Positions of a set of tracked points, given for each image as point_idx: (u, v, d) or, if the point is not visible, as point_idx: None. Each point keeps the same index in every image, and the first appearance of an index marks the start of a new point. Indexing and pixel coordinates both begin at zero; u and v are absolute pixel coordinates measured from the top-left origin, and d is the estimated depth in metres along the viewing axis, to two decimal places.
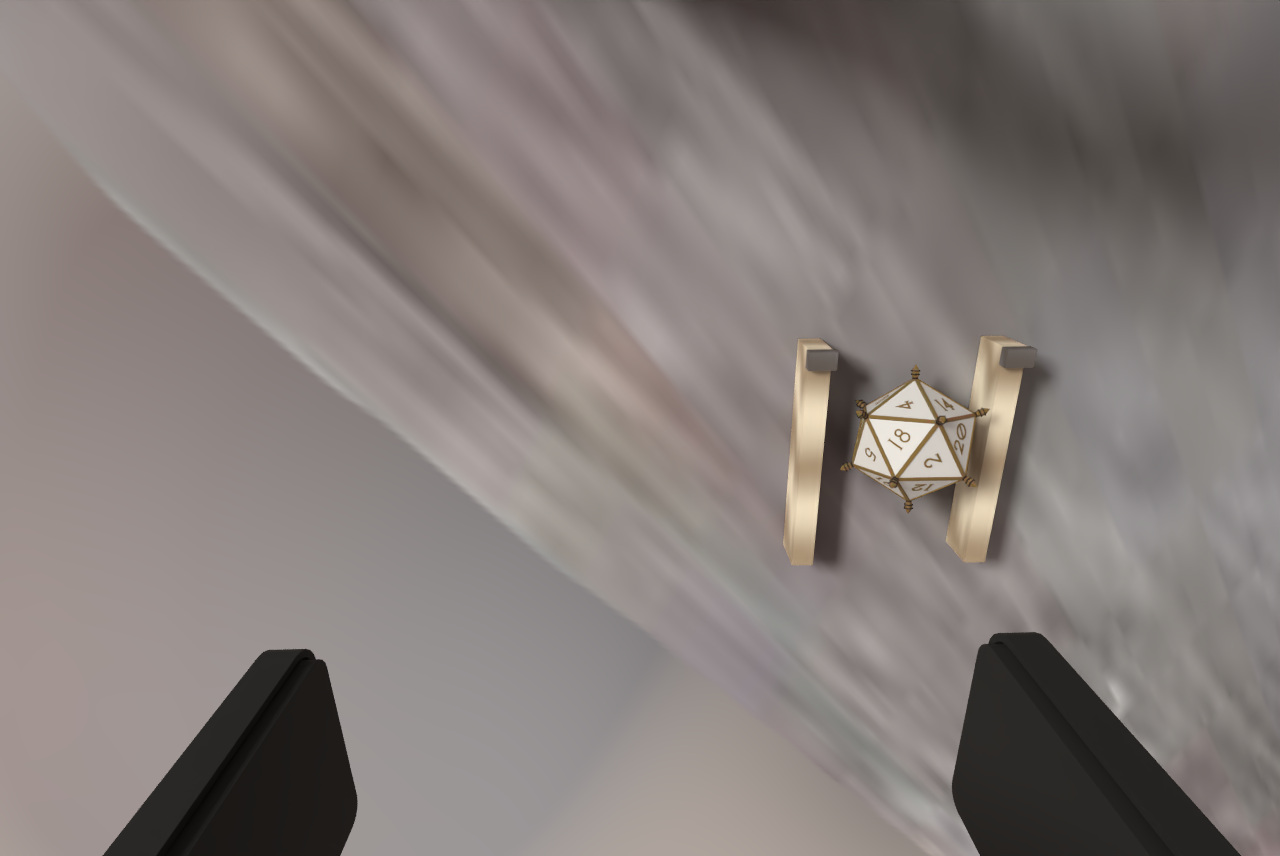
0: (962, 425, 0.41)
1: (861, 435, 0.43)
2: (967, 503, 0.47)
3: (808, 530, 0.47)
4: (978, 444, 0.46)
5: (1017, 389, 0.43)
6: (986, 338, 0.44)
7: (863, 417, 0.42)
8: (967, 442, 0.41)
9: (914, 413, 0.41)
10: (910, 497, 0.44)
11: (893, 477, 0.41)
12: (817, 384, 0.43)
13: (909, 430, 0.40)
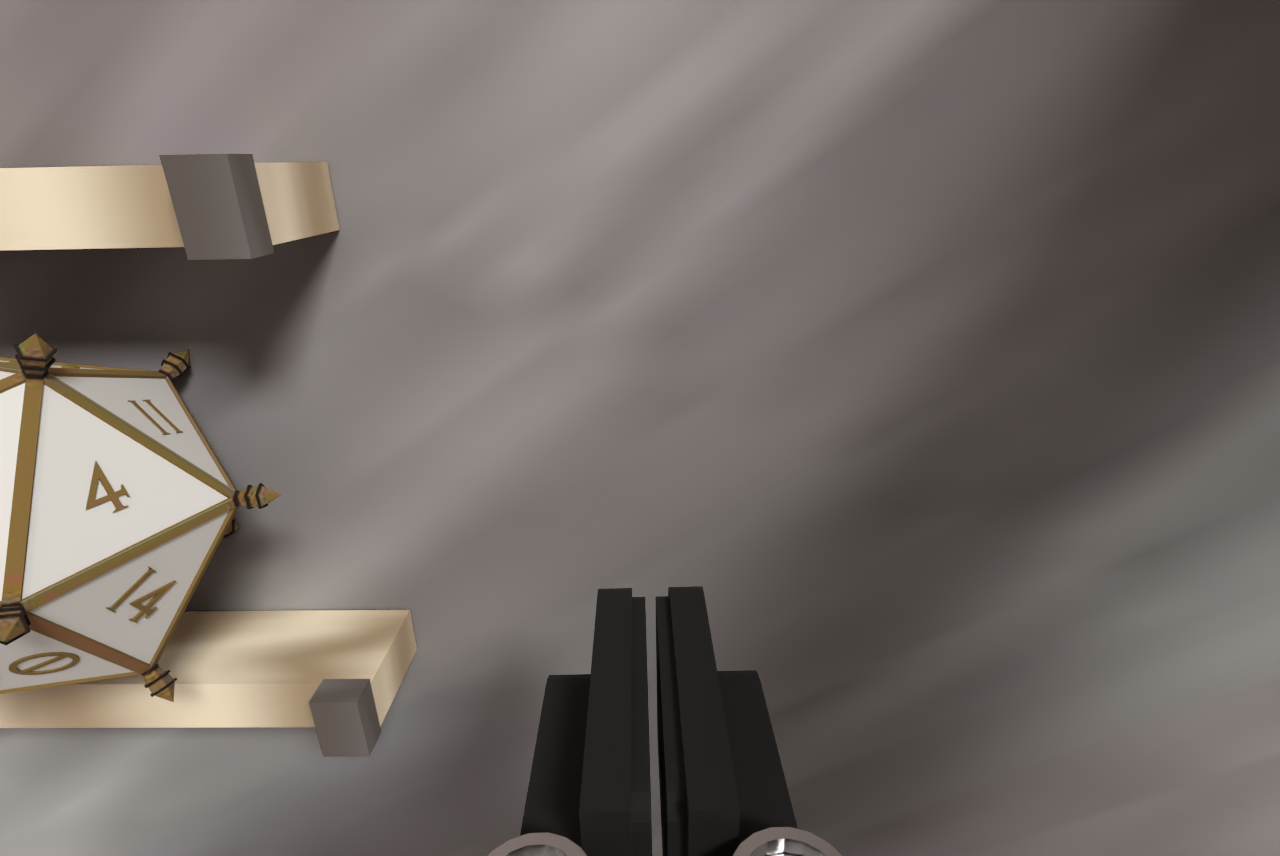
0: (74, 658, 0.13)
1: None
2: None
3: None
4: None
5: (272, 724, 0.18)
6: (401, 624, 0.19)
7: (20, 363, 0.12)
8: (20, 682, 0.13)
9: (61, 524, 0.12)
10: None
11: None
12: (143, 205, 0.13)
13: None
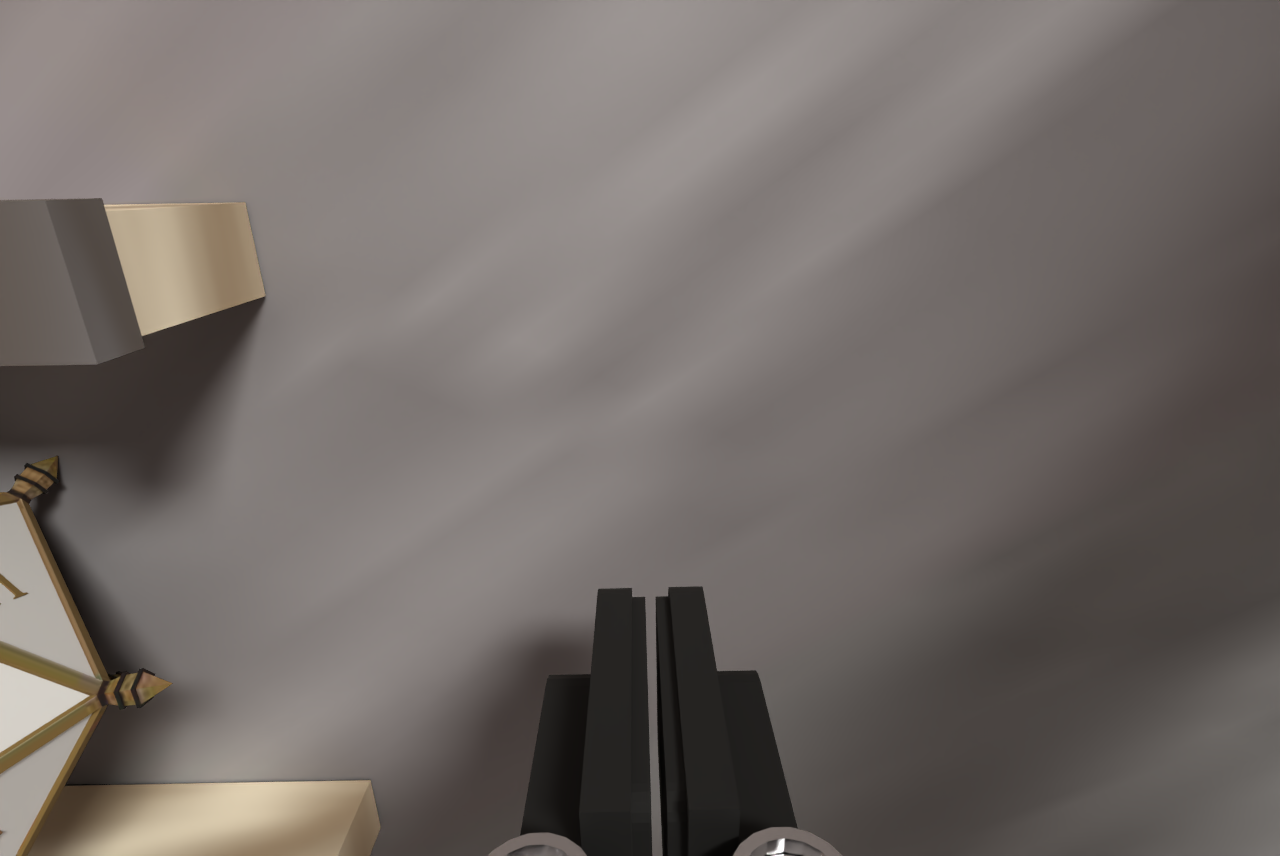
0: None
1: None
2: None
3: None
4: None
5: None
6: (359, 805, 0.15)
7: None
8: None
9: None
10: None
11: None
12: None
13: None
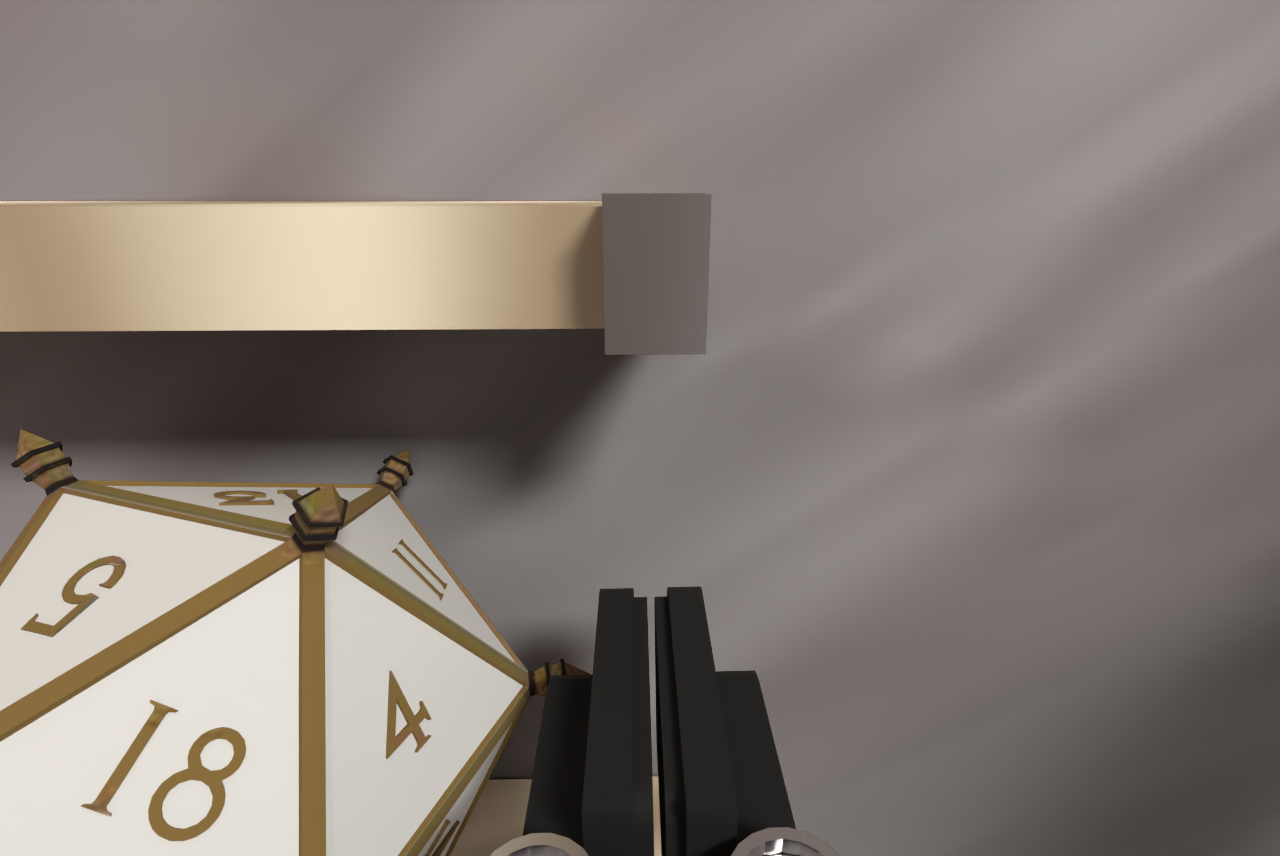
0: None
1: (203, 523, 0.08)
2: None
3: None
4: None
5: None
6: None
7: (299, 530, 0.07)
8: None
9: (362, 793, 0.07)
10: None
11: None
12: (513, 267, 0.08)
13: (243, 814, 0.07)
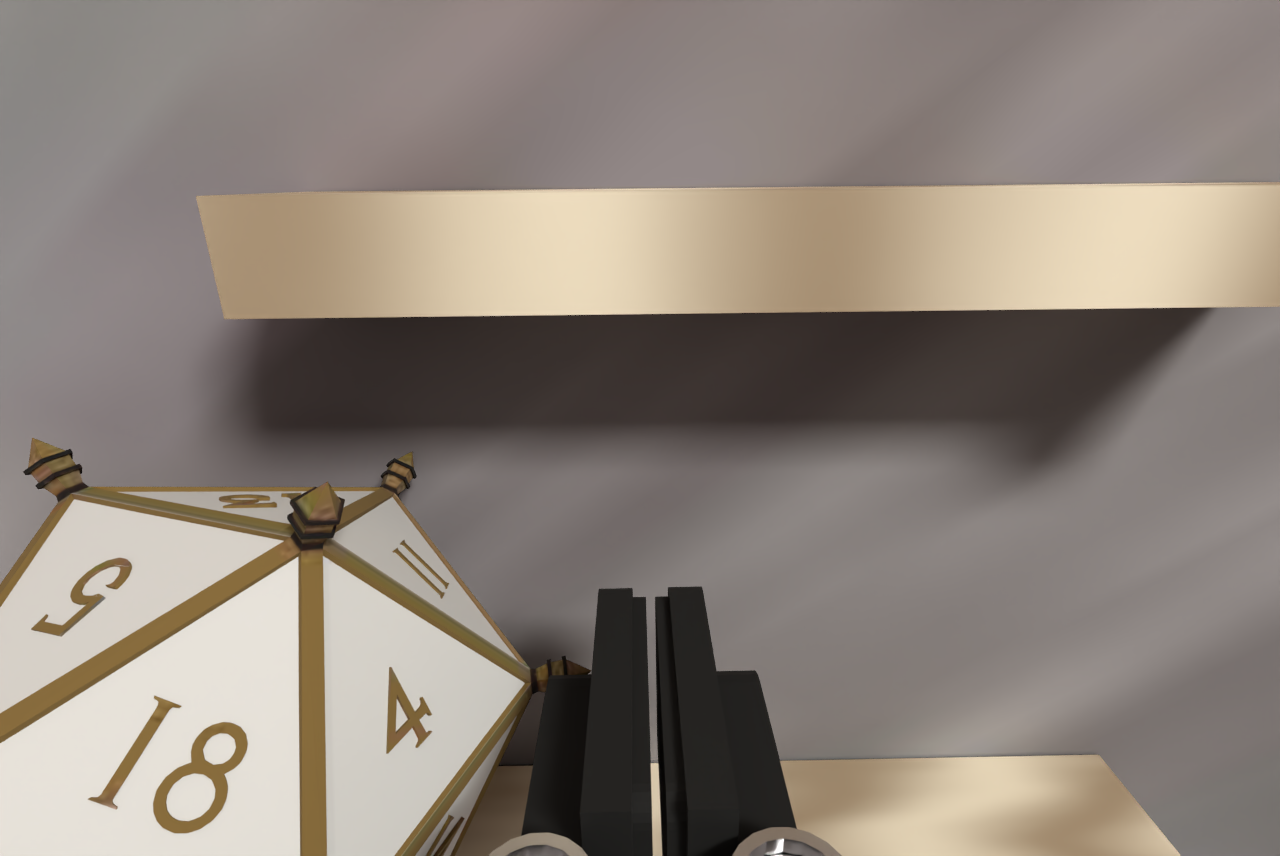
0: None
1: (206, 524, 0.08)
2: None
3: (439, 272, 0.08)
4: None
5: None
6: (1114, 778, 0.15)
7: (297, 528, 0.07)
8: None
9: (362, 787, 0.07)
10: None
11: None
12: None
13: (247, 807, 0.07)
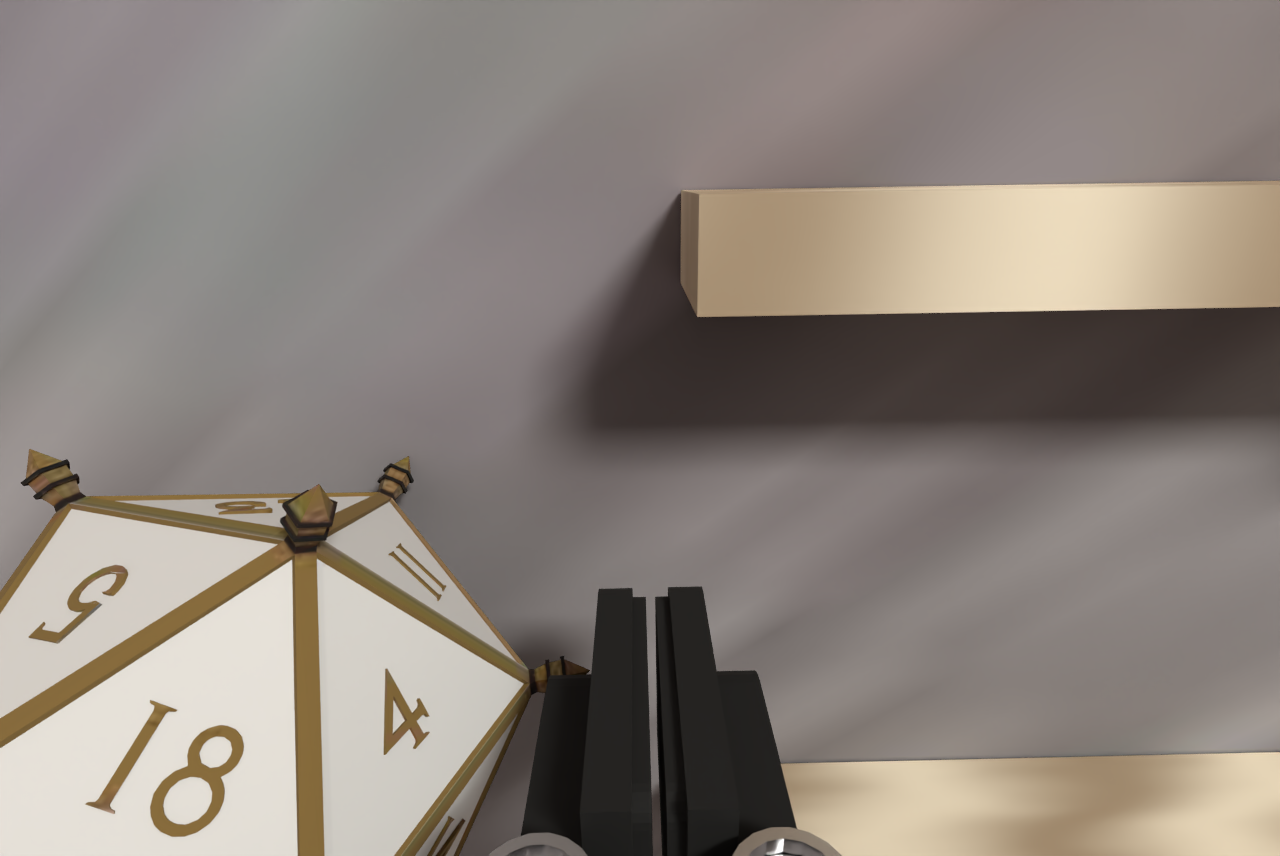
0: None
1: (201, 530, 0.08)
2: (898, 846, 0.13)
3: (921, 269, 0.08)
4: (1119, 839, 0.13)
5: None
6: None
7: (290, 531, 0.07)
8: None
9: (359, 789, 0.07)
10: None
11: None
12: None
13: (242, 810, 0.07)
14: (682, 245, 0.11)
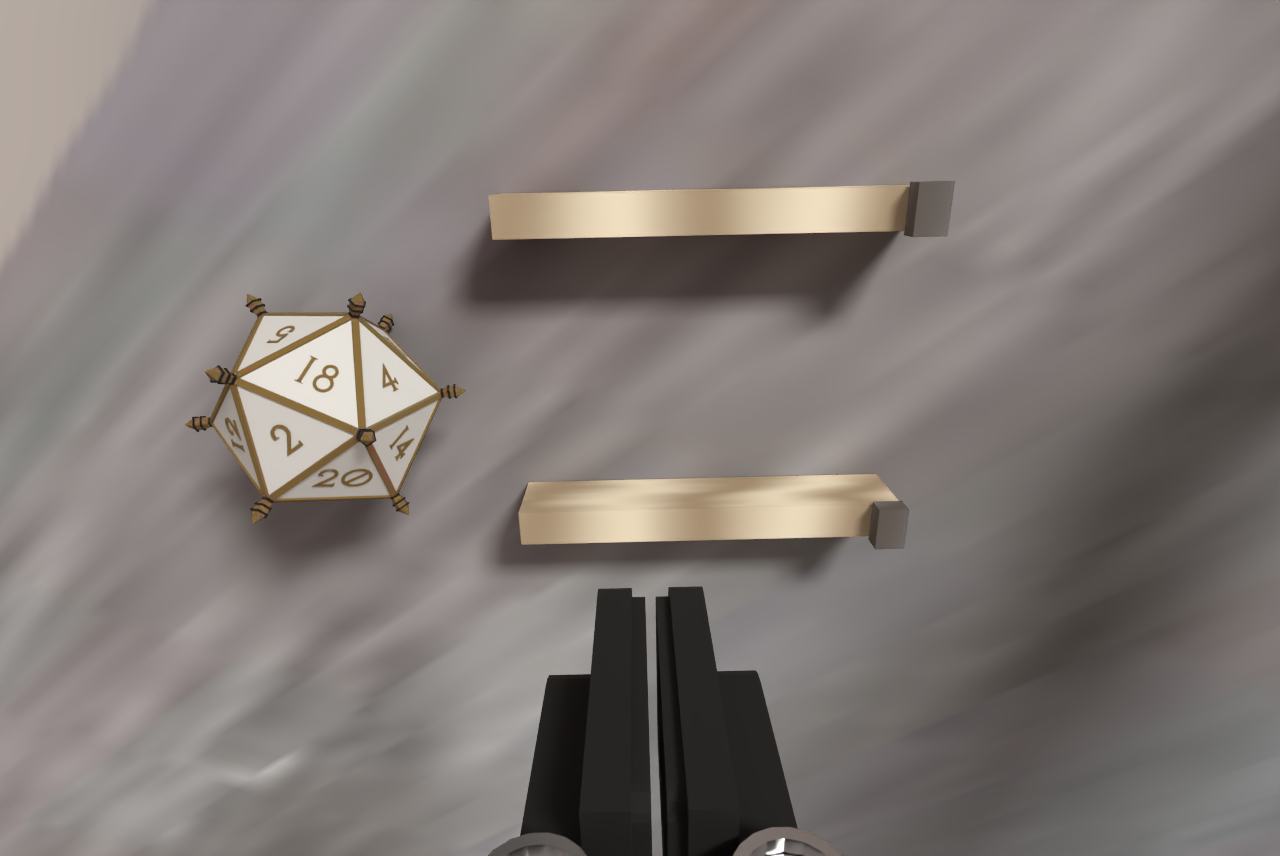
0: (369, 477, 0.24)
1: (318, 315, 0.23)
2: (622, 500, 0.28)
3: (570, 221, 0.23)
4: (727, 497, 0.28)
5: (829, 534, 0.28)
6: (880, 480, 0.30)
7: (351, 309, 0.23)
8: (339, 492, 0.24)
9: (375, 393, 0.23)
10: (216, 422, 0.24)
11: (234, 374, 0.21)
12: (875, 208, 0.23)
13: (339, 388, 0.22)
14: None
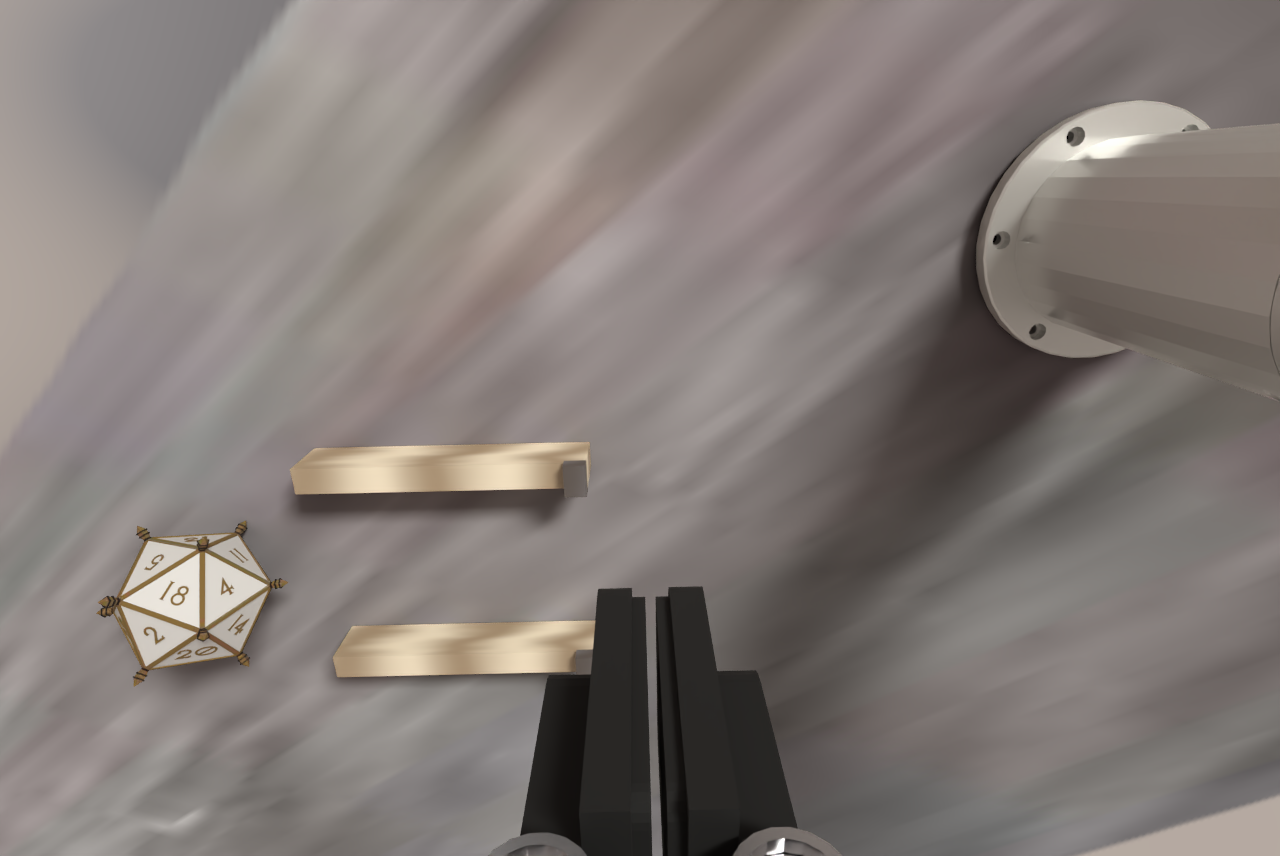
0: (215, 649, 0.36)
1: (180, 546, 0.36)
2: (408, 645, 0.41)
3: (345, 484, 0.36)
4: (482, 643, 0.41)
5: (550, 670, 0.41)
6: None
7: (198, 547, 0.35)
8: (196, 658, 0.36)
9: (214, 600, 0.35)
10: (115, 613, 0.36)
11: (118, 599, 0.34)
12: (543, 475, 0.36)
13: (188, 601, 0.34)
14: None
